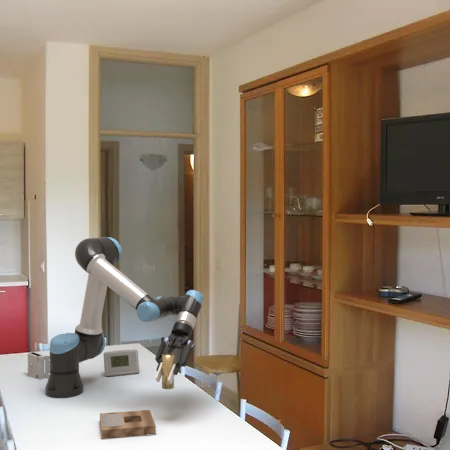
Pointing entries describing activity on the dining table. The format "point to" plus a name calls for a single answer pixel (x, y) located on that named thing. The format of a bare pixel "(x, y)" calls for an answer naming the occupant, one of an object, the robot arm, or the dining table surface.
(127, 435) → the brown block with recess
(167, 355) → the pin
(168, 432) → the dining table surface
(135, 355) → the digital clock
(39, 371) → the grey slotted box
